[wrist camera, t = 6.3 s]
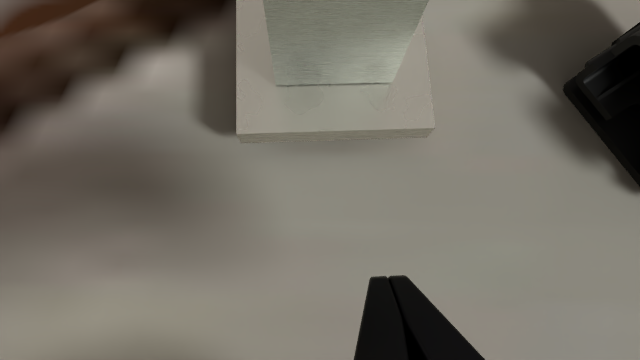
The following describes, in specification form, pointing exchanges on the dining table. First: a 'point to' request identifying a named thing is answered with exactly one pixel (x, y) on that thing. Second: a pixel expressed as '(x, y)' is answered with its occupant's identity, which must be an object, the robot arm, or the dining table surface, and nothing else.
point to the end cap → (613, 98)
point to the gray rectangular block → (325, 95)
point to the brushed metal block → (339, 39)
